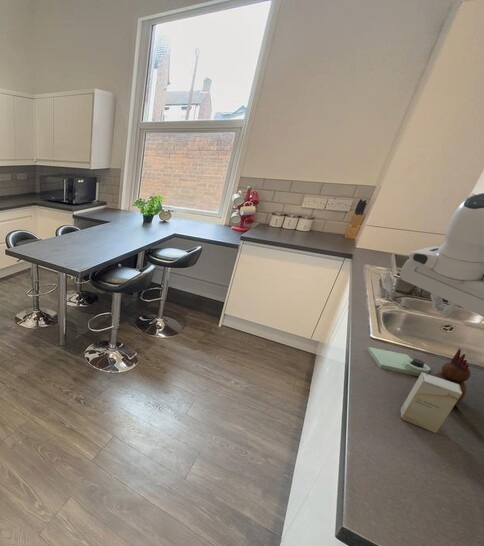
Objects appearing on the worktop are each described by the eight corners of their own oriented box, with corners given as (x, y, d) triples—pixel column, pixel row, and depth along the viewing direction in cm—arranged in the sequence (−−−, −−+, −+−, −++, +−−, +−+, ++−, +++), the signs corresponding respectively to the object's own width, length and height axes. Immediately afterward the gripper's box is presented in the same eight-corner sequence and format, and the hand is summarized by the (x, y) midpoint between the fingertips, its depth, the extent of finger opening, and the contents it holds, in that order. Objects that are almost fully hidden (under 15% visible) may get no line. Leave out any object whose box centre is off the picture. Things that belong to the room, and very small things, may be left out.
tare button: (419, 364, 93) (422, 360, 92) (424, 369, 91) (426, 364, 90) (409, 362, 93) (411, 357, 93) (413, 366, 91) (415, 362, 91)
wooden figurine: (420, 387, 87) (445, 343, 81) (450, 397, 84) (478, 351, 78) (427, 402, 82) (454, 355, 76) (459, 412, 79) (490, 365, 73)
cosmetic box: (400, 419, 77) (422, 380, 72) (399, 409, 80) (420, 371, 75) (437, 434, 73) (463, 394, 68) (435, 423, 76) (459, 383, 71)
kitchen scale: (410, 359, 99) (414, 351, 98) (429, 380, 90) (434, 372, 89) (367, 350, 103) (370, 342, 102) (381, 370, 94) (385, 361, 93)
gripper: (540, 282, 62) (508, 334, 69) (426, 244, 80) (409, 288, 87) (510, 290, 62) (481, 341, 69) (403, 250, 80) (388, 293, 87)
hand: (440, 311), depth 78 cm, fingers closed
